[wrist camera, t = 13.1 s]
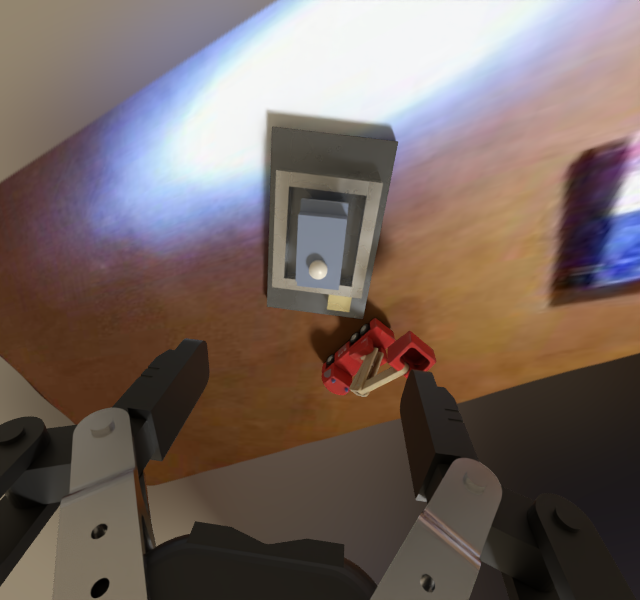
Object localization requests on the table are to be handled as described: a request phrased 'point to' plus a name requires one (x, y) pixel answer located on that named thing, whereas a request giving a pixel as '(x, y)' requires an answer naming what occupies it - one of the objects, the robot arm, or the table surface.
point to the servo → (320, 243)
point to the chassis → (331, 185)
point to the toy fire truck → (374, 360)
